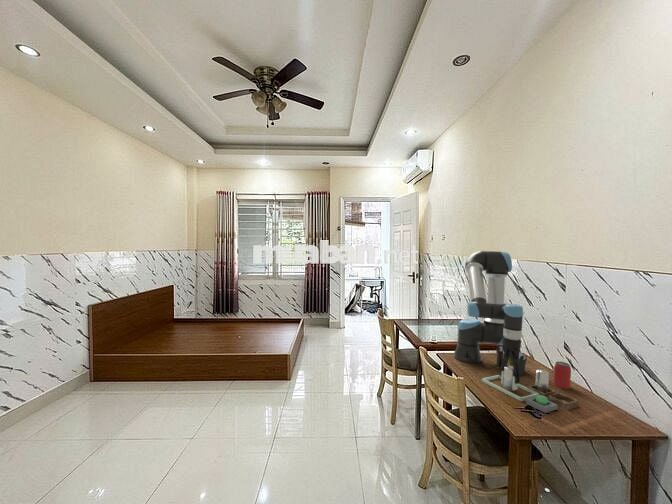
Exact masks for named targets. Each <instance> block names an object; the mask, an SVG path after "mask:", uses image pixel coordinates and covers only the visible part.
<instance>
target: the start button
mask: <svg viewBox="0 0 672 504" xmlns="http://www.w3.org/2000/svg"><path fill="white" fill-rule="evenodd" d="M547 401H548V398H547V397H545V396H543V395H536V402H537V403H539V404H541V405H543V406H545V405H547Z"/></svg>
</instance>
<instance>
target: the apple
mask: <svg viewBox="0 0 672 504" xmlns="http://www.w3.org/2000/svg"><path fill="white" fill-rule="evenodd" d="M521 354H523V355H525V354H524V352H521ZM518 358H519V356H518ZM519 359H520V358H519ZM527 360H528V359H527V358H526V360H525V366H526V364H527ZM508 363H509V366H513V362H512V360H511V358H509V360H508ZM518 363H519V360H518Z"/></svg>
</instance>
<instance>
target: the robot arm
mask: <svg viewBox="0 0 672 504" xmlns="http://www.w3.org/2000/svg"><path fill="white" fill-rule="evenodd" d="M511 257H512V256H511V255H510V254H509V252H505V251H495V250H493V251H491V250H479V251H475V252H473V253H472V254H471V255H470V256H468V258H467V260H466V262H465V265H464V268H465V272H466V273H467V278H468V288H469V298H470V301H469V302H467V304H466V305H467V309H466V313H467V316H469V317H472V318H464V319H461V320H459V322H458V327H457V329H458V335H457V345H456V346H455V347H456V348H455V350H454V353H453V357H454V358H455V359H457V360H458V361H461V362H465V363H471V364H477V363H481V362H482V355H481V351H480V343H481V344H482V343H483V344H490V345H496V346H497V347H496V351H497V354H496V356H497V357H496V368H498V369H499V371H500V372H499V375H500V376H501V379H500V384H501V385H502V386H503V378H504V366H505V365H508V363H509V358H511V360H512V362H513V368H514V374H515V375H514V376H513V383H512V390H515V391H517V390H518V389H519V387H518V384H521V383H520V379H521V378H522V377H525V373H526V365H525V360H526V359H527V356H528V355H526V354H524V353H523V354H524V355H523V354H521V353H522V351H521V347H522V337H523V336H522V334H523V318H524V307H523V306H522V305H519V304H516V303H505V286H506V285H505V284H506V283H505V282H506V281H505V280H506V277H508V276H509V273H511V271H512V269H513V263H512V261H513V260H512V258H511ZM483 271H485V275H486V276H487V277H488V278H487V279H488V280H487V281H488V282H487V295H486V288H485V283H484V277H483V276H484V275H483ZM479 318H480V319H483V322H481V321H480V319H479ZM499 345H501V346H499ZM518 356H519V358H520V359H519V358H518ZM518 360H519V363H518Z"/></svg>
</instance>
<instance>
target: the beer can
mask: <svg viewBox="0 0 672 504" xmlns="http://www.w3.org/2000/svg"><path fill="white" fill-rule="evenodd" d="M553 367H554V368H553V383H552V384H553V385H554V386H555V387H557V388H560V389H564V390H569V389H571V377H572V375H571V374H572V368H571V364H570V363H567V362H564V361H556V362H555V364H554V366H553Z"/></svg>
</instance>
